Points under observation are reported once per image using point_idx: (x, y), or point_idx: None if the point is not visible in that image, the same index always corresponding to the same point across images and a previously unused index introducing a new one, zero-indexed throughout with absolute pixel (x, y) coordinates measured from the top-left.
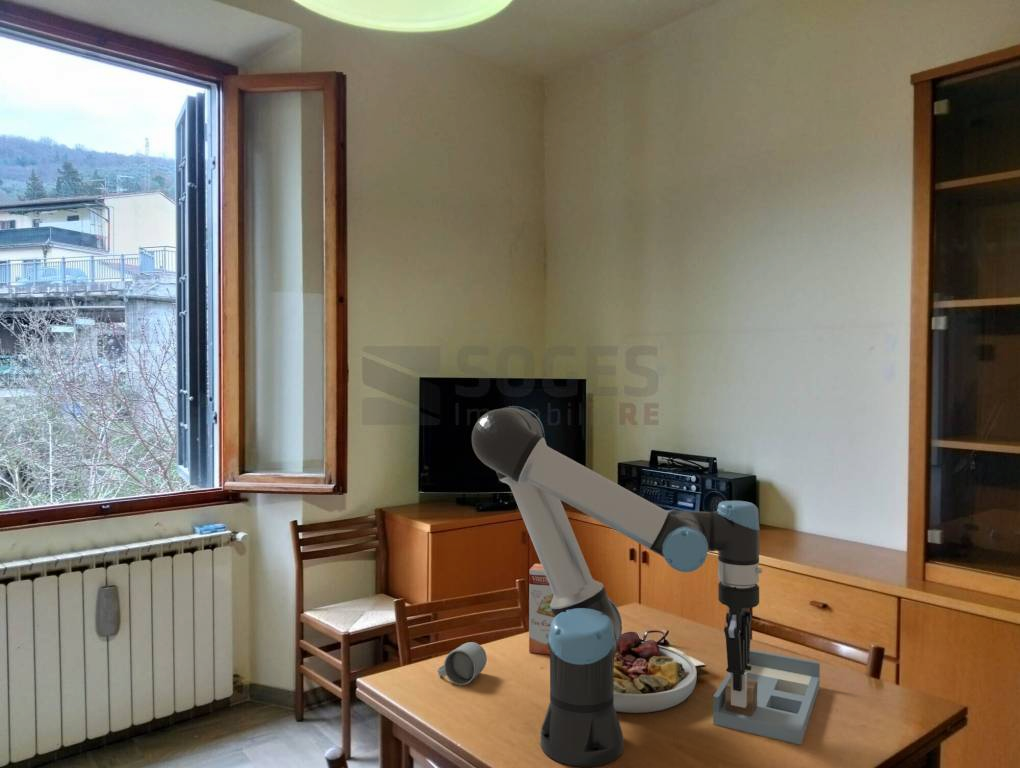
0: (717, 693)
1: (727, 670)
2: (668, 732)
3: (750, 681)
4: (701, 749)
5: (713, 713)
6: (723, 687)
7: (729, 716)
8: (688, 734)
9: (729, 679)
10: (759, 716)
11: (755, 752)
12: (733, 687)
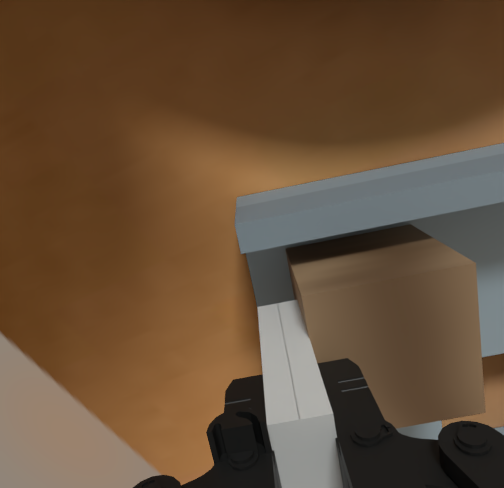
0: (285, 228)
1: (209, 436)
2: (26, 75)
3: (453, 386)
4: (11, 254)
5: (237, 206)
6: (389, 219)
7: (252, 279)
8: (78, 156)
9: (403, 279)
10: None
11: (143, 403)
12: (227, 394)
